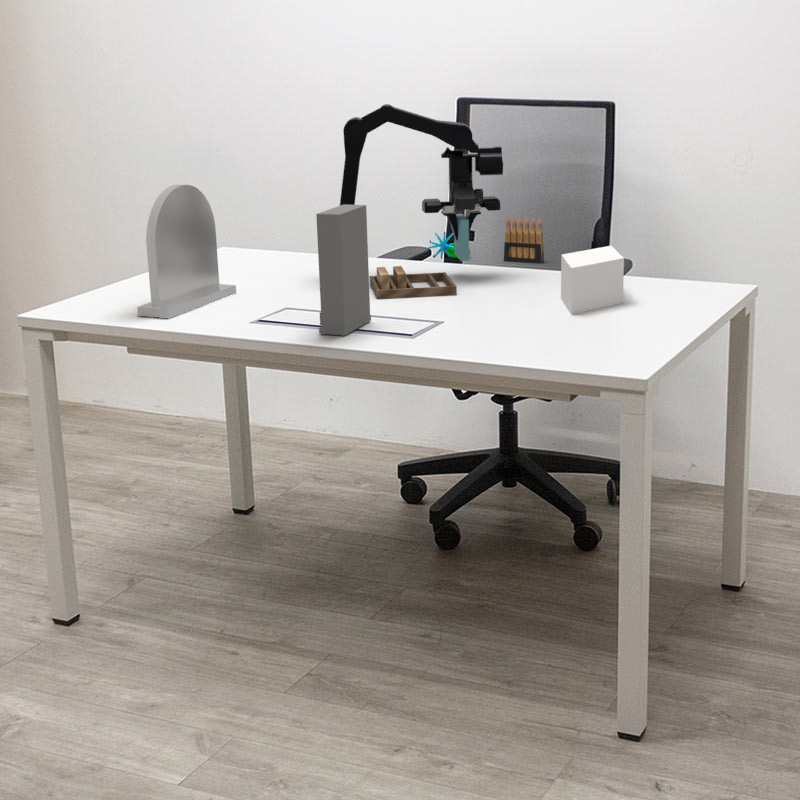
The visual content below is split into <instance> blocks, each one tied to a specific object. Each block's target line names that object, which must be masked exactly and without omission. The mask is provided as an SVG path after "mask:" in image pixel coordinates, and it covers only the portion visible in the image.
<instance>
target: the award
mask: <svg viewBox="0 0 800 800" xmlns="http://www.w3.org/2000/svg"><path fill="white" fill-rule="evenodd" d="M151 207H152V208H151V210H150V213H149V215H148V220H147V226H146V234H145V235H146V241H145V243H146V254H147V255H146V256H147V266H148V277H149V290H150V300H151V301H150V302H147V303H144V304H141V305H139V306H136V307H137V316H138V315H139V316H138V317H141V316H148V317H147V318H153V317H159V318H158V319H165V318H168V319H169V318H170V319H172V317H173V318H175V317H178V316H181V315H182V314H183V313H184V314H186V313H188V311H189V312H191V310H192V311H194V310H197V309H199V307H200V308H202V307H201V306H203V307H205V306H207V304H208V305H210V304H209V303H211V304H213V303H216V302H218V301H217V300H219V301H221V300H223V299H222V298H224V299H226V298H225V297H227V298H229V297H231V296H230V295H232V296H234V295H237V285H236V284H222V283H220V276H219V275H220V274H219V273H220V272H219V262H218V261H219V260H218V259H219V258H218V244H217V230H216V222H215V216H214V213H213V210H212V208H211V204H210V202H209V200H208V199H207V197H206V196H205V195H204V193H203V191H201V190H200V189H199V188H197V187H196V186H194V185H190V184H173V185H170V186H168V187H166V188H165V189H163V190H162V191H161V193H159V195H158V196H157V198H156V199H155V201H154V202H153V205H152V206H151ZM233 294H234V295H233ZM228 296H229V297H228ZM220 299H221V300H220ZM215 301H216V302H215ZM212 302H213V303H212ZM204 305H205V306H204ZM196 308H197V309H196ZM193 309H194V310H193ZM185 312H186V313H185ZM180 314H181V315H180ZM170 319H169V320H170Z"/></svg>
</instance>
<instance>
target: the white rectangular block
mask: <svg viewBox="0 0 800 800" xmlns="http://www.w3.org/2000/svg"><path fill="white" fill-rule="evenodd" d="M560 257H561V259H560V265H561V266H560V267H561V268H560V299H561V301H562V303H563V305H564V306H565V307H566V310H568V312H569V314H570V315H574V314H578V313H583V312H588V311H592V310H597V309H601V308H606V307H610V306H615V305H619V304H623V303H624V277H625V274H624V273H625V269H624V268H625V258H624V257H623V255H621V254H620V253H619V252H618V250H617V249H615V248H614V246H612V245H607V246H603V247H602V246H601V247H596V248H592V249H585V250H579V251H574V252H569V253H563V254H561V256H560Z"/></svg>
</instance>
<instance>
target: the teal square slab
mask: <svg viewBox="0 0 800 800" xmlns="http://www.w3.org/2000/svg"><path fill="white" fill-rule="evenodd" d="M456 223H457V231H458V240H456V239H455V236H454V235H453V237H454V241H453V243H454V244H455V255H456V256H457V257H458V258H459V261H461V262H466V261H467V262H469V261H470V255H469V248H470V232H469V220H468V219H467V218H466V215H464V214H463V213H456ZM458 258H457V259H458Z"/></svg>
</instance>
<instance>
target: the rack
mask: <svg viewBox="0 0 800 800" xmlns="http://www.w3.org/2000/svg"><path fill="white" fill-rule="evenodd" d="M438 282H443V283H444V285H445V284H446V285H445V286H440V285H439V283H438ZM413 283H415V284H416V283H428V285H429V286H428V287H426V286H425V287H424V286H423V287H414V286H413ZM389 285H390V289H384V290H380V289H379V287H378V285H377V275H369V286H370V287H371V290H372V291H373V294H374V295H375V298H376V300H385V299H386V300H387V299H388V300H389V299H401V298H402V299H403V298H407V299H408V298H420V297H421V298H422V297H441V296H442V297H443V296H457V294H458V293H457V292H458V289H457V285H456V283H454V281H453V280H452V278H450V276H449V274H448V273H446V272H445V271H444V272H427V273H426V272H425V273H423V272H422V273H406V285H407V288H404V289H397V288H396V286H395V284H394V280H393V274H389Z"/></svg>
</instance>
